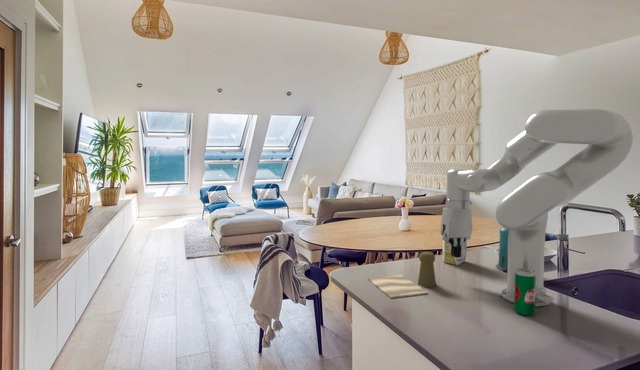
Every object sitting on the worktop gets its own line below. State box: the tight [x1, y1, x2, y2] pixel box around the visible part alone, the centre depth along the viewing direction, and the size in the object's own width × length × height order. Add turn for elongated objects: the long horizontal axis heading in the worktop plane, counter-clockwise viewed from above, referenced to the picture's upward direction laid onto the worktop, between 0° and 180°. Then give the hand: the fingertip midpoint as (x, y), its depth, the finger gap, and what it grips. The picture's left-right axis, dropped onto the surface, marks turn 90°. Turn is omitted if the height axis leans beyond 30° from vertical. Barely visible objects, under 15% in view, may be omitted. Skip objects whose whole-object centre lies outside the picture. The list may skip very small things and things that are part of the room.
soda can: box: [513, 268, 536, 317], centre depth 97 cm, size 5×5×12 cm
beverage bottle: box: [498, 226, 509, 270], centre depth 134 cm, size 6×7×20 cm
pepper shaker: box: [417, 251, 437, 288], centre depth 121 cm, size 6×6×11 cm
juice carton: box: [441, 207, 468, 266], centre depth 146 cm, size 9×8×24 cm
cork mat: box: [367, 274, 429, 299], centre depth 119 cm, size 18×13×1 cm
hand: (455, 256), depth 124 cm, fingers closed
